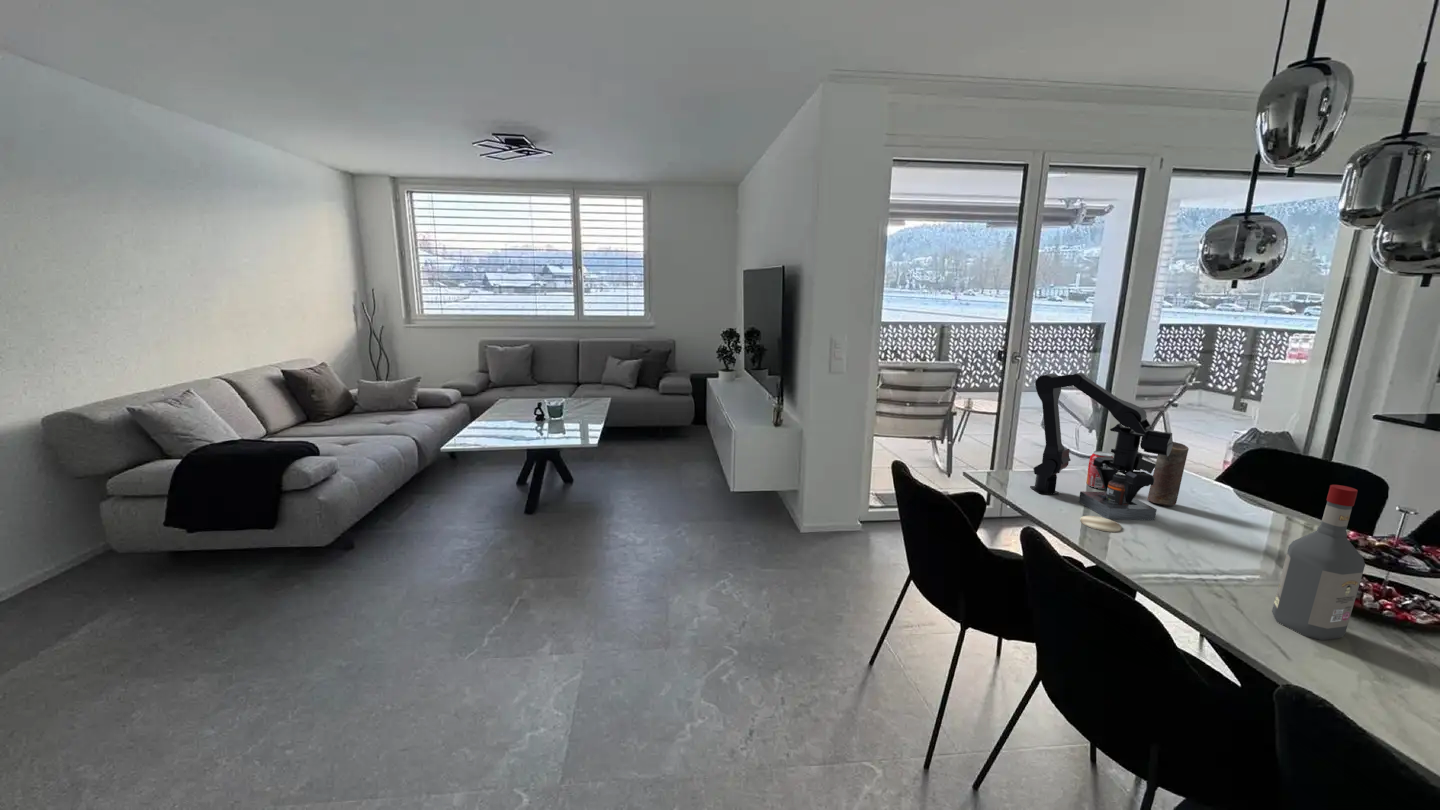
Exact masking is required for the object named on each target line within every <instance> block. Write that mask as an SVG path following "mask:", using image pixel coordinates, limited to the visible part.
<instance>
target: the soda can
mask: <svg viewBox="0 0 1440 810" xmlns="http://www.w3.org/2000/svg"><path fill="white" fill-rule="evenodd" d="M1097 457H1112V458H1113V457H1114V453H1112V452H1107V451H1100V450H1094V451H1092V454H1091V455H1090V456H1089V460H1088V465H1087V466H1088V467H1087V473H1086V478H1085V479H1086V480H1085V481H1086V482H1085V483H1086V485H1088V486H1089V487H1090V486H1091V488H1092V487H1094V488H1093V489H1096V488H1098V489H1097V490H1105V488H1104V485H1103V483H1102V480H1101V477H1100V475H1099V473H1098V471H1097V469H1096V466H1094V465H1093V463H1094V459H1095V458H1097Z"/></svg>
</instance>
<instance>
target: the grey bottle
mask: <svg viewBox="0 0 1440 810" xmlns="http://www.w3.org/2000/svg"><path fill="white" fill-rule="evenodd" d="M1358 492H1359V491H1358V489H1356V488H1354V487H1351V486H1347V485H1340V484H1330V485H1329V488H1328V493H1327V496H1326V505H1325V508H1324V511H1323V516H1322V518H1321V522H1320V524H1319V525H1318V526H1317V529H1316V530H1315V531H1313V532H1311V533H1308V534H1306V535H1303V536H1301V537H1300V538H1297V539H1295V540H1292V542H1291V543H1289V545H1288V546H1287V547H1288V548H1287V552H1286V555H1285V559H1284V563H1283V567H1282V570H1281V575H1280V578H1279V583H1278V586H1277V590H1276V595H1275V598H1274V602H1273V605H1272V609H1271V613H1272V615H1273V617H1274V619H1275V621H1276V623H1278V622H1279V623H1278V624H1280V623H1281V624H1280V625H1282V624H1283V625H1282V626H1284V625H1285V626H1284V627H1286V626H1287V627H1286V628H1288V627H1289V628H1288V629H1290V628H1291V629H1290V630H1292V629H1293V630H1292V631H1294V630H1295V631H1294V632H1296V631H1297V632H1296V633H1298V632H1299V633H1298V634H1300V633H1301V634H1300V635H1302V636H1303V637H1306V638H1311V639H1315V640H1319V641H1328V640H1334V639H1335V640H1336V639H1341V638H1342V637H1344V636H1345V635H1346V633H1347V629H1348V625H1349V621H1350V619H1351V615H1352V611H1353V608H1354V605H1355V601H1356V598H1357V594H1358V592H1359V591H1358V590H1359V587H1360V584H1361V580H1362V577H1363V574H1364V571H1365V567H1366V563H1365V560H1364V557H1363V556H1362V555H1361V553H1360V552H1359V551H1358V550H1357V549H1356V548H1355V546H1354V545H1353V544H1352V543H1351V542H1350V540H1349V539H1348V538H1347V537H1348V532H1347V530H1348V524H1349V521H1350V517H1351V513H1352V510H1353V507H1354V506H1355V503H1356V500H1357V496H1358Z"/></svg>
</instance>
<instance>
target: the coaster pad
mask: <svg viewBox="0 0 1440 810" xmlns="http://www.w3.org/2000/svg"><path fill="white" fill-rule="evenodd" d="M1079 520H1080V521H1079V522H1080V523H1081V524H1082V525H1084V526H1086V527H1089V528H1091V529H1094V530H1096V531H1101V532H1108V533H1117V532H1118V533H1119V532H1120V531H1121V530H1122V527H1123V526H1122V525H1121V524H1120V523H1118V522H1117V521H1114V520H1112V519H1107V518H1105V517H1103V516H1097V515H1083V516H1081V517H1080V519H1079Z"/></svg>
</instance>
